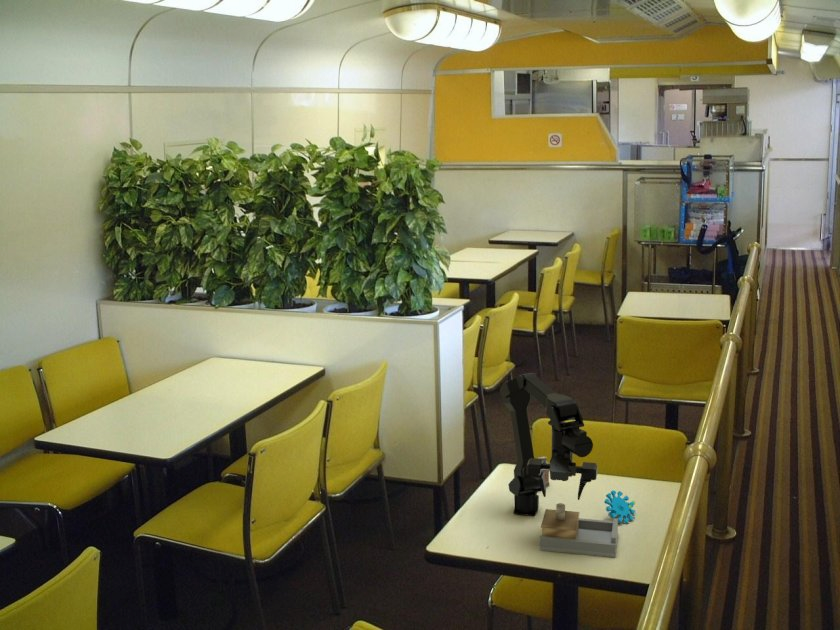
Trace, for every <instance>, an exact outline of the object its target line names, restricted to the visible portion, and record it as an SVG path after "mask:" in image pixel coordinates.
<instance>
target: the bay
mask: <svg viewBox="0 0 840 630" xmlns="http://www.w3.org/2000/svg"><path fill="white" fill-rule="evenodd" d="M618 530H619V522H618V518H616V517H615V518H612V520H606V519H605V520H602V519H592V518H580V517H579V528H578V534H577V539H567V538H556V537H545V536H542V535H540V536H539V551H547V552H557V551H558V552H557V553H568V554H577V555H588V556H589V555H590V556H599V557H606V558H607V557H609V558H616V554H617V543H618V534H619V531H618Z"/></svg>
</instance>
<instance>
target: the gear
mask: <svg viewBox="0 0 840 630" xmlns="http://www.w3.org/2000/svg"><path fill="white" fill-rule="evenodd" d="M623 494H624V493H623V492H622V491H620V490H619V491H618V492H617V491H616V490H611V491H610V492H609V493H607V494H606V495H605V497H606V499H604V502H603V503H604V504H606V505H607V506H606V507H605V510H606V512H608V515H609V516H610V517H611V518H612V519H613V518H616V517H617V516H618V518H617V519H618V524H620V523H622V522H623V523H624V524H629V523H630V522H631V521H633V520H634V519H635V518H634V515H635V513H636V510H634V509H633V507H634V505H636V501H635V500H631V502H627V501H629V500H630V497H629V496H628V495H625V496H624V497H622V496H623ZM623 518H624V519H623Z"/></svg>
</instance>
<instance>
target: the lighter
mask: <svg viewBox="0 0 840 630" xmlns="http://www.w3.org/2000/svg"><path fill="white" fill-rule="evenodd" d="M537 459H543V463H545V464H550V461H549V462H548V461H547V456H546V455H545V456H541V457H540V456H538V457H537ZM545 483H546V489H547V488H549V487H550V471H545Z"/></svg>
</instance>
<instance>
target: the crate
mask: <svg viewBox="0 0 840 630" xmlns="http://www.w3.org/2000/svg"><path fill="white" fill-rule="evenodd" d="M555 507H556V508H555V509H552V508H551V509H549V508H545V510H544V513H543V518H542V521H541V525H540V528H541V536H545V537H556V538H567V539H577V534H578V528H579V518H580V511H572V510H566V504H564V503H561V502H559V503H556V504H555Z"/></svg>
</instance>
